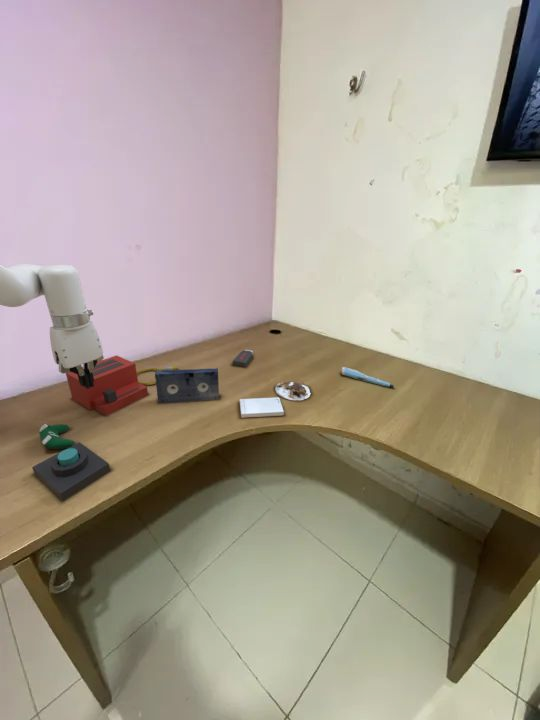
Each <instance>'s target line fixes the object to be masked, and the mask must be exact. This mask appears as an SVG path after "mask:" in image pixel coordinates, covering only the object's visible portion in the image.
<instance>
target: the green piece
mask: <svg viewBox="0 0 540 720" xmlns="http://www.w3.org/2000/svg"><path fill="white" fill-rule="evenodd" d="M68 430H70V429H69V425H67V424H64V423H59V424H58V423H57V424H52V425H49V424H46V423H44V424H43V425H42V426H41V427H40V428H39V431H38V432H39V436H40V440H41V444H42V446H43V447H45V448H47V449H50V450H51V449H52V450H61V449H62V450H63V449H67V448H69V447H71V446H73V445H75V441H74V440H73V439H69V438H61V437H60V434H63V433H66V432H67V431H68Z"/></svg>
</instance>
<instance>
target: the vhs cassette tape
mask: <svg viewBox="0 0 540 720" xmlns="http://www.w3.org/2000/svg"><path fill="white" fill-rule="evenodd" d="M160 370H161V371H154V379H155V381H156V382H155V383H156V384H155V387H156V396H157V401H158V404H167V403H168V404H169V403H182V402H183V403H184V402H199V401H202V402H203V401H216V400H219V399H220V390H219V368H189V369H188V368H187V369H177V370H172V371H169V370H162V369H160Z"/></svg>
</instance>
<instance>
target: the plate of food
mask: <svg viewBox="0 0 540 720" xmlns="http://www.w3.org/2000/svg"><path fill="white" fill-rule="evenodd" d="M274 391H275V393H276V395H277V396H279V398H282V399H284V400H289V401H304V400H306V399H309V398H310V396H311V391H310V388H309V386H307V385H306V384H304V383H303V381H279V382H278V383H277V384H275V388H274Z"/></svg>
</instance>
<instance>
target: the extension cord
mask: <svg viewBox="0 0 540 720" xmlns="http://www.w3.org/2000/svg"><path fill="white" fill-rule="evenodd" d="M161 370H169V371H172V370H178V366H177V365H170V366H167V367H164V368H163V369H158V368H155V367H154V368H145V369H142V370H137V371H136V372H137V376H138V375H140V374H143V373H145V372H151V371H154V372H156V371H161ZM138 383H140V384H142V385H144V386H146V387H148V386H153V385H156V380H155V381H150V382H140V381H138Z"/></svg>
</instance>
